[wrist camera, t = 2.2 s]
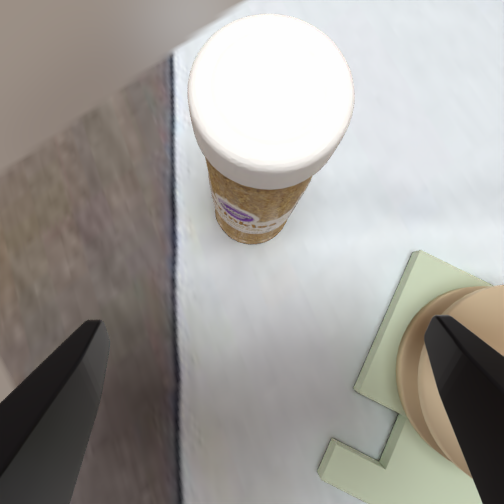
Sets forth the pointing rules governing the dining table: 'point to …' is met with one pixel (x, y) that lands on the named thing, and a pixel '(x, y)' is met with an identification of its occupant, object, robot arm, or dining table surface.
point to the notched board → (401, 408)
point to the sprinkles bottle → (267, 117)
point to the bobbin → (419, 368)
